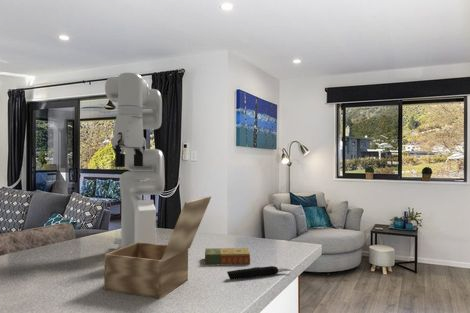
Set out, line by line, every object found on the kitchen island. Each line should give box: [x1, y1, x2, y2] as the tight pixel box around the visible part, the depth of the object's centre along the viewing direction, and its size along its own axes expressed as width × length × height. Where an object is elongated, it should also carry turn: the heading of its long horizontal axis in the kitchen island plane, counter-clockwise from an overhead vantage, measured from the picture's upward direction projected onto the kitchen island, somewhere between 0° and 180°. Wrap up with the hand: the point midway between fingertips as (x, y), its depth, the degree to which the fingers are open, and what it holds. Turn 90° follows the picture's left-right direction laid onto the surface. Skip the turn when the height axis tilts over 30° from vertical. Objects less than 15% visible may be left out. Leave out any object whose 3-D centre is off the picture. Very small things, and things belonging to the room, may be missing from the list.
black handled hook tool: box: [226, 265, 293, 280], centre depth 117 cm, size 22×4×3 cm, turn 111°
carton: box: [204, 247, 251, 266], centre depth 134 cm, size 8×16×4 cm, turn 94°
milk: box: [135, 199, 157, 244], centre depth 132 cm, size 6×6×22 cm
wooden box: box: [103, 242, 189, 300], centre depth 109 cm, size 18×16×10 cm
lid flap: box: [161, 195, 212, 262], centre depth 104 cm, size 17×16×1 cm
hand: (129, 166), depth 118 cm, fingers open, 9 cm apart
